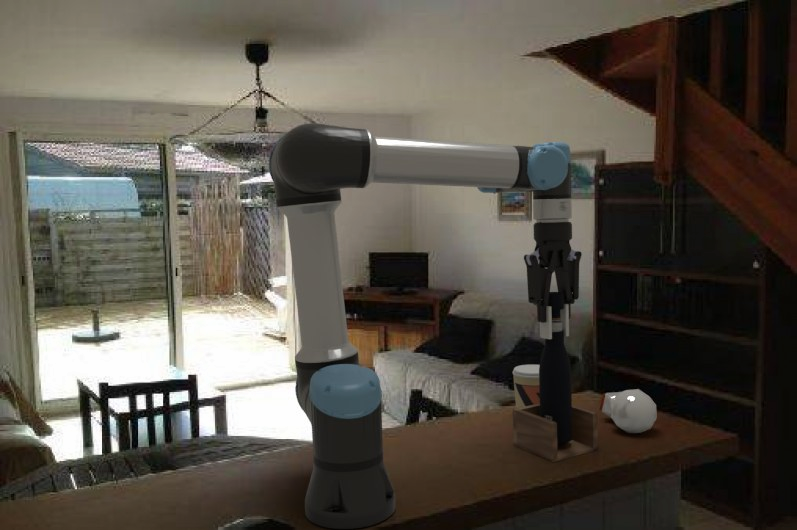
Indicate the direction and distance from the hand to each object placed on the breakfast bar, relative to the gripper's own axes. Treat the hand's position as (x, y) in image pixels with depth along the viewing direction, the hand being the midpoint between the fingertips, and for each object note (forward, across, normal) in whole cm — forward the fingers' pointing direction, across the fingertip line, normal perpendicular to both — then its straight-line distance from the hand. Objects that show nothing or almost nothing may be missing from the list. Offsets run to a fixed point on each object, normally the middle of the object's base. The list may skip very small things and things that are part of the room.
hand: (554, 336), depth 139 cm
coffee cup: (+23, +9, +18) cm, 31 cm away
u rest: (+23, 0, 0) cm, 23 cm away
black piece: (+21, 0, 0) cm, 21 cm away
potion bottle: (+23, +21, +1) cm, 31 cm away
